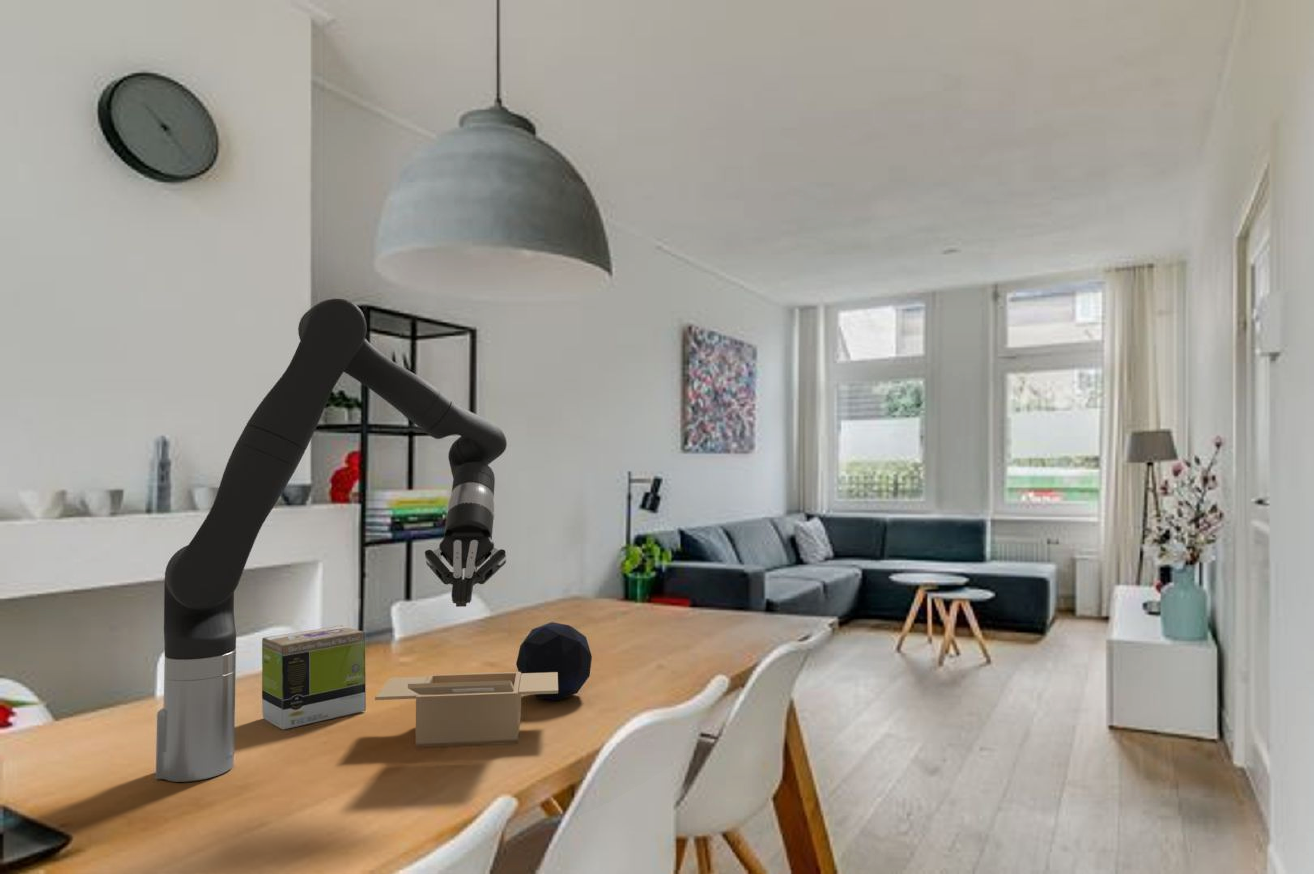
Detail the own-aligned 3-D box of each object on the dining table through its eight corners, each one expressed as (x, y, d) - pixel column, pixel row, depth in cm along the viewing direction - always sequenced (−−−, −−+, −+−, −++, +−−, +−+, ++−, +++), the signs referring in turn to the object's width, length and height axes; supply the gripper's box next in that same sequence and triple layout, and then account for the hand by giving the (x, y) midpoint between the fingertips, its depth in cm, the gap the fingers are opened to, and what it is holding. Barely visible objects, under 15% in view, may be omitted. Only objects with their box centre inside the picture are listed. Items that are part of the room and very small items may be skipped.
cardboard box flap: (419, 695, 130) (407, 689, 119) (420, 690, 130) (407, 683, 119) (513, 692, 132) (510, 685, 120) (514, 687, 132) (510, 680, 121)
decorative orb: (507, 660, 165) (515, 608, 157) (578, 654, 170) (590, 604, 162) (516, 720, 154) (526, 667, 146) (593, 711, 159) (606, 660, 151)
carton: (373, 749, 128) (373, 698, 129) (391, 721, 143) (391, 675, 143) (558, 741, 132) (558, 691, 132) (557, 714, 147) (557, 669, 147)
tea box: (343, 701, 155) (344, 623, 156) (366, 712, 148) (367, 631, 149) (260, 718, 145) (261, 634, 145) (280, 731, 138) (282, 643, 138)
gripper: (426, 501, 130) (412, 588, 118) (510, 501, 132) (505, 587, 120) (431, 531, 136) (417, 619, 123) (511, 531, 137) (506, 617, 125)
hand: (461, 603), depth 121 cm, fingers closed
